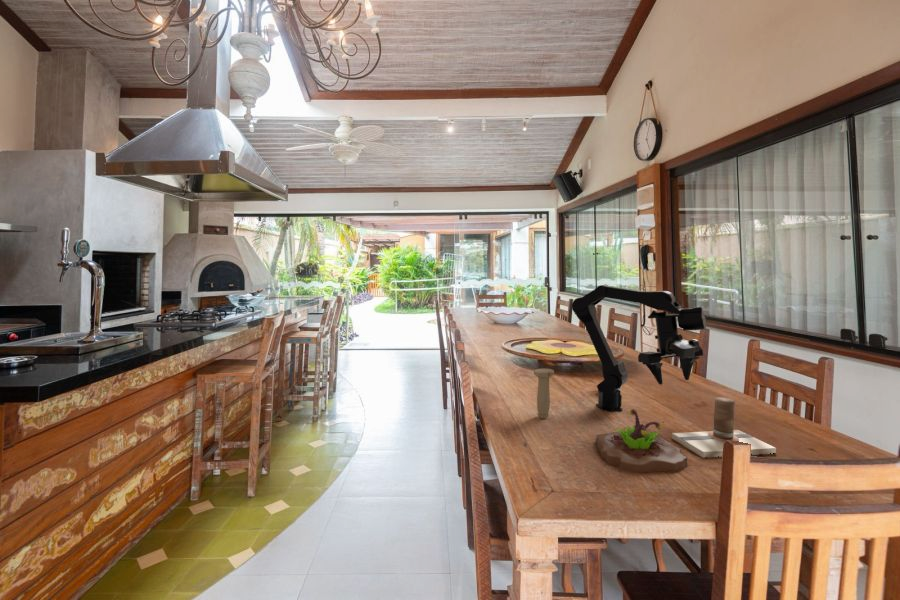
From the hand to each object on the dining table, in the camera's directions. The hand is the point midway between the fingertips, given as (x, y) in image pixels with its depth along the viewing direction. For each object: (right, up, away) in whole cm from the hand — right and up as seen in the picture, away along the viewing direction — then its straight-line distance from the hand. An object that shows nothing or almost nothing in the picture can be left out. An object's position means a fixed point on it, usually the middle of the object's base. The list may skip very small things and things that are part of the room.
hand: (673, 382), depth 129 cm
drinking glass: (-6, -10, +34) cm, 36 cm away
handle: (-39, -12, +4) cm, 41 cm away
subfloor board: (+3, -13, -17) cm, 22 cm away
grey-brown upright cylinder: (+5, -12, -15) cm, 20 cm away
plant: (-21, -14, -22) cm, 34 cm away
